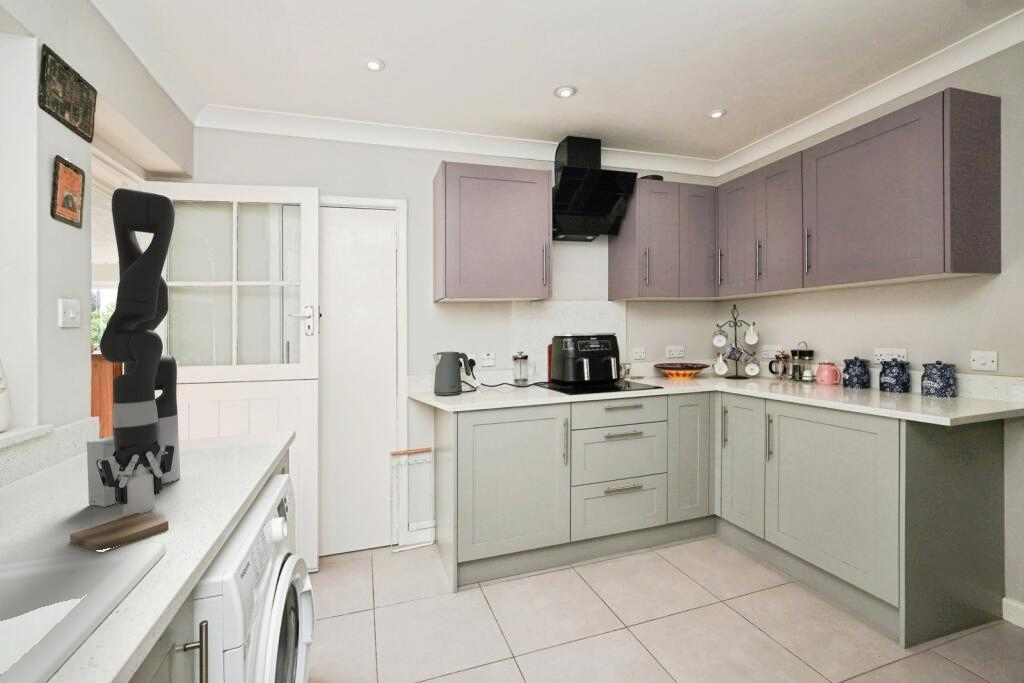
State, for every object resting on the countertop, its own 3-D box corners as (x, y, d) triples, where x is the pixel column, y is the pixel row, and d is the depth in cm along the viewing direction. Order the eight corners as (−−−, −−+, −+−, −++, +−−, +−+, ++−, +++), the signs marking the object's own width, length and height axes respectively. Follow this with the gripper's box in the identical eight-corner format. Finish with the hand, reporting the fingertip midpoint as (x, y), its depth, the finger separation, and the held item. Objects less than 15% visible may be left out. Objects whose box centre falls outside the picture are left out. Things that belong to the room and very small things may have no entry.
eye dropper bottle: (121, 513, 101) (118, 458, 100) (153, 505, 105) (151, 453, 105) (124, 518, 98) (122, 462, 98) (157, 510, 102) (155, 456, 102)
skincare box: (105, 508, 104) (102, 442, 104) (87, 505, 106) (83, 440, 106) (144, 494, 112) (141, 433, 112) (127, 492, 114) (124, 432, 114)
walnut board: (70, 542, 87) (69, 534, 87) (138, 519, 97) (137, 512, 97) (100, 553, 83) (100, 544, 83) (168, 528, 92) (168, 521, 92)
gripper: (162, 414, 109) (165, 486, 109) (85, 427, 96) (89, 508, 97) (181, 416, 106) (184, 490, 106) (104, 430, 93) (108, 513, 93)
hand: (139, 498), depth 101 cm, fingers closed on eye dropper bottle, 5 cm apart
